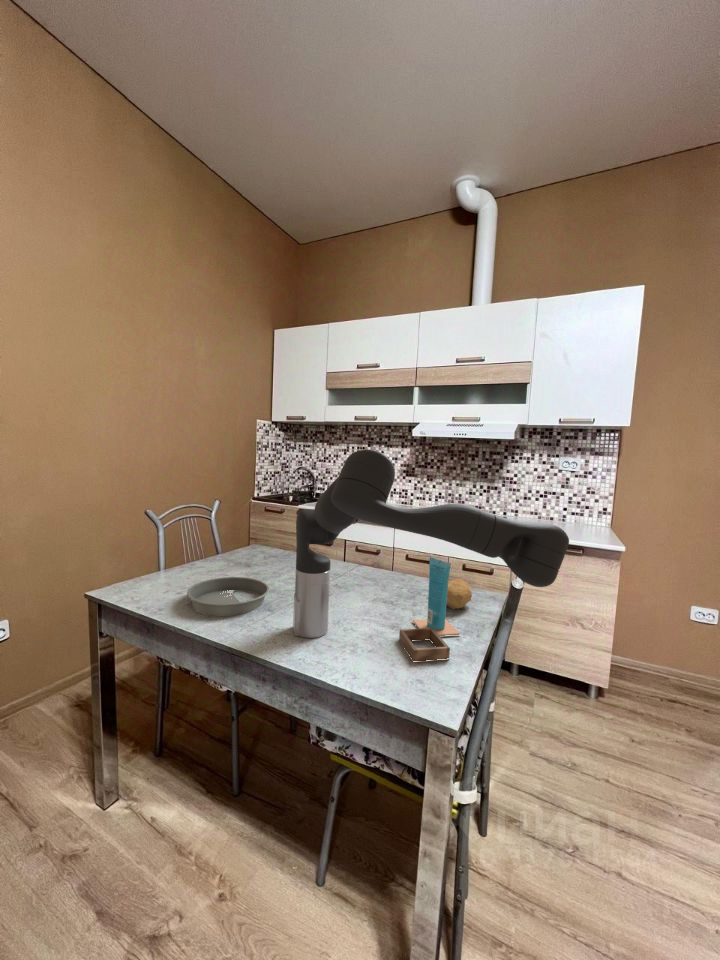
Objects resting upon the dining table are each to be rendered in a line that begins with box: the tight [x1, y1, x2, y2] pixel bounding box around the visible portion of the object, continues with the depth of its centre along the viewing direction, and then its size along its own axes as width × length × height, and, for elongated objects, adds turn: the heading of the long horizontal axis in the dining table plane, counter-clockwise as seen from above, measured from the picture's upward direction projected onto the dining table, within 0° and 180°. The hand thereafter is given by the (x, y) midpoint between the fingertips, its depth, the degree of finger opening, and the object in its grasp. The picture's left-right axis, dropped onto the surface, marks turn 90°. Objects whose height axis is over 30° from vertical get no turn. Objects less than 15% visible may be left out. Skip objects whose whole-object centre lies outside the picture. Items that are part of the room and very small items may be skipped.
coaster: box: [412, 618, 461, 636], centre depth 116 cm, size 10×10×1 cm
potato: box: [446, 578, 473, 609], centre depth 133 cm, size 10×14×8 cm
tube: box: [426, 556, 452, 630], centre depth 115 cm, size 7×5×19 cm, turn 45°
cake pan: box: [186, 576, 270, 617], centre depth 128 cm, size 25×25×4 cm
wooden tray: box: [398, 628, 451, 662], centre depth 103 cm, size 9×11×3 cm
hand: (453, 518), depth 100 cm, fingers open, 8 cm apart
